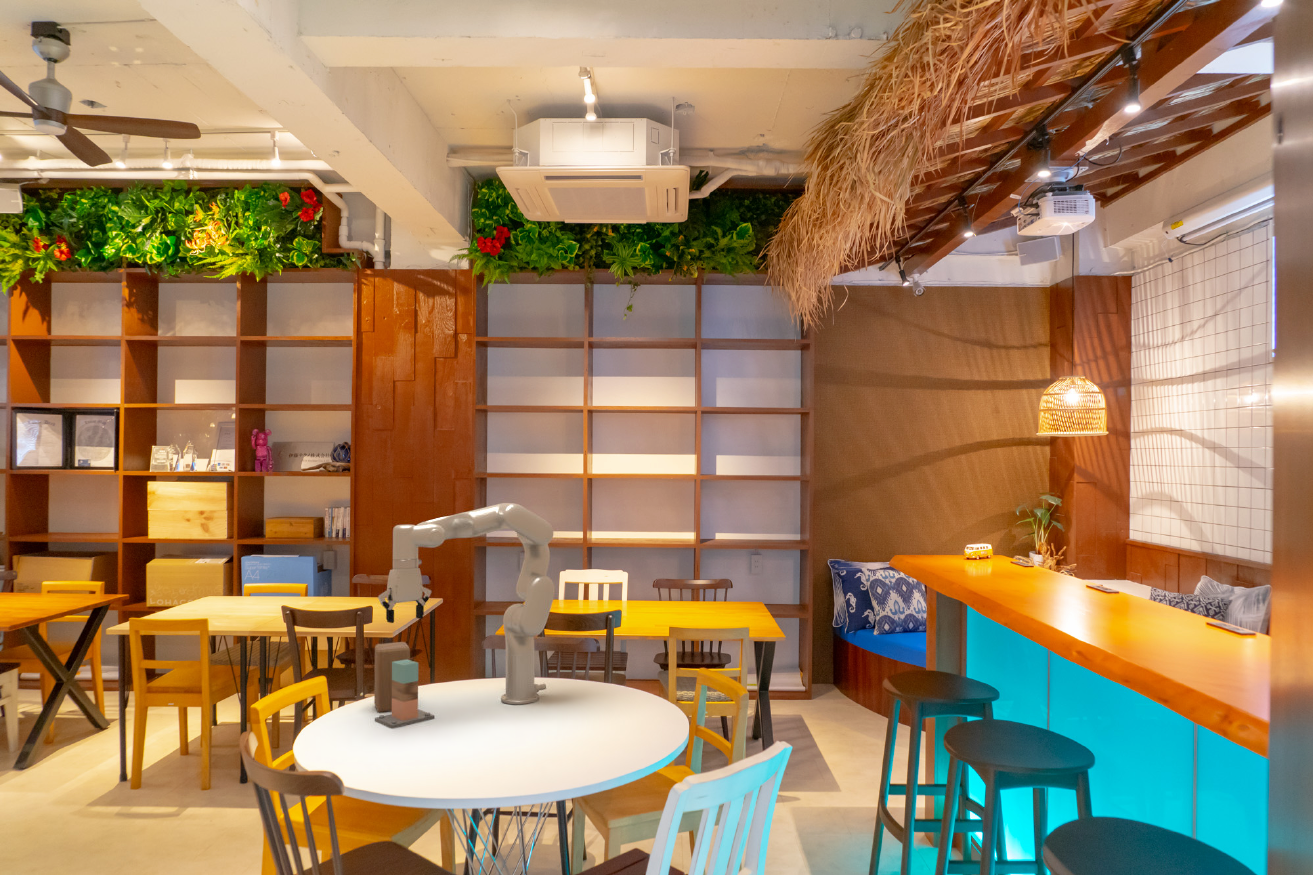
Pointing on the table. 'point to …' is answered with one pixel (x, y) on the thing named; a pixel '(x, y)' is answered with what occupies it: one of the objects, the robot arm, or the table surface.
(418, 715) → the baseplate
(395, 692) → the walnut brick
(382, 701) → the block
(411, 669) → the teal brick
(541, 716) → the table surface
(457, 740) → the table surface
